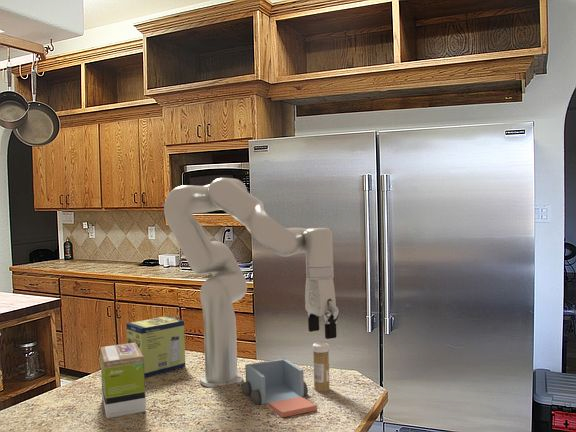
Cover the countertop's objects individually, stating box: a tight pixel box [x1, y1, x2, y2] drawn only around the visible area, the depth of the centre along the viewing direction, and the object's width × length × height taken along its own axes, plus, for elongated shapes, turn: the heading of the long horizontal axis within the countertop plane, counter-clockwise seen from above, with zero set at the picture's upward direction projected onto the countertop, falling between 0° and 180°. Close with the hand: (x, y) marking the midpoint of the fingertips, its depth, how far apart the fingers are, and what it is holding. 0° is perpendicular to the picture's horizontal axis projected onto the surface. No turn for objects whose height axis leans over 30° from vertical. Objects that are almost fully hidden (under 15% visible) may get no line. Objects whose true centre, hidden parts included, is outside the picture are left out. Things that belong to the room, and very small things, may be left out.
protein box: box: [125, 315, 186, 379], centre depth 170 cm, size 10×16×16 cm
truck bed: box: [241, 358, 309, 406], centre depth 144 cm, size 12×15×8 cm
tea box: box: [99, 342, 147, 419], centre depth 140 cm, size 15×10×15 cm
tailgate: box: [267, 397, 318, 418], centre depth 134 cm, size 1×9×9 cm
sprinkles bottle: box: [312, 341, 330, 393], centre depth 147 cm, size 5×5×13 cm
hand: (322, 334), depth 146 cm, fingers open, 9 cm apart
